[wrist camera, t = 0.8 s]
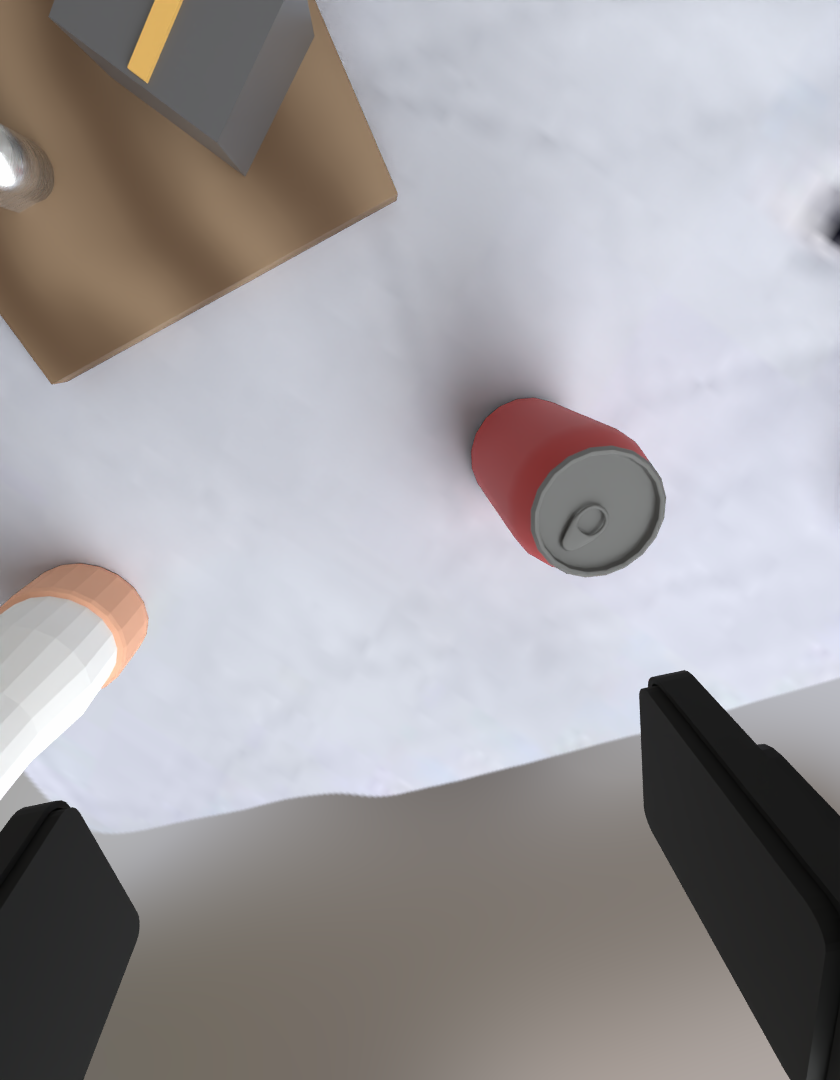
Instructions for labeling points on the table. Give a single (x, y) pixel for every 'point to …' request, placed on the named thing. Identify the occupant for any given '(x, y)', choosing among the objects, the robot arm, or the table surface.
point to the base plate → (160, 195)
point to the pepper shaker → (60, 655)
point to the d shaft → (23, 171)
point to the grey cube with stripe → (198, 61)
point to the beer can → (568, 486)
